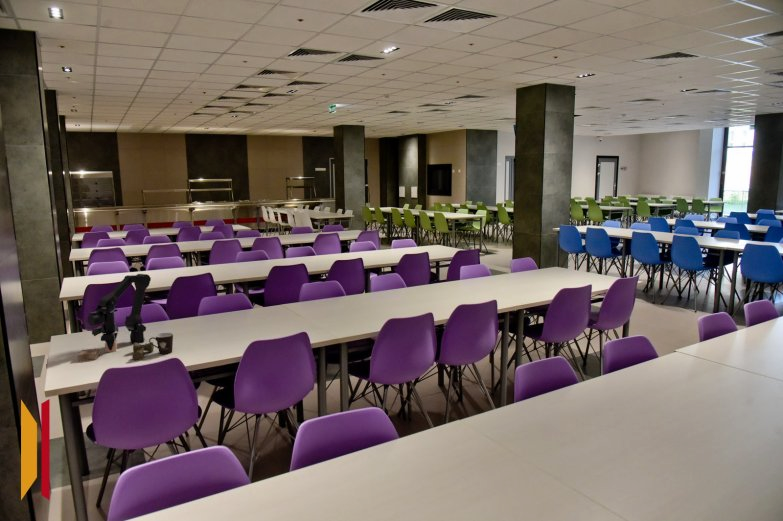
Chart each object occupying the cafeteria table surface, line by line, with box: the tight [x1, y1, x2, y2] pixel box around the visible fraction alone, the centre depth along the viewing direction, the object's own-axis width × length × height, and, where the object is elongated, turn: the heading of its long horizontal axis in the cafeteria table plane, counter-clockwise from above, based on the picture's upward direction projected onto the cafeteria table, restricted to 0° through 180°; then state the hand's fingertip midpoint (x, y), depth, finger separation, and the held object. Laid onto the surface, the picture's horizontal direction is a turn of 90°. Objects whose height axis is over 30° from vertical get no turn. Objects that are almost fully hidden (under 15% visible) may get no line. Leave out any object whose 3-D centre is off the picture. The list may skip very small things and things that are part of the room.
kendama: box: [131, 341, 155, 361], centre depth 280 cm, size 6×10×20 cm
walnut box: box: [77, 348, 101, 362], centre depth 275 cm, size 8×8×4 cm
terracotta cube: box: [104, 339, 118, 353], centre depth 287 cm, size 5×5×5 cm
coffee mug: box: [148, 332, 174, 356], centre depth 283 cm, size 12×9×10 cm
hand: (111, 348), depth 287 cm, fingers closed on terracotta cube, 5 cm apart
